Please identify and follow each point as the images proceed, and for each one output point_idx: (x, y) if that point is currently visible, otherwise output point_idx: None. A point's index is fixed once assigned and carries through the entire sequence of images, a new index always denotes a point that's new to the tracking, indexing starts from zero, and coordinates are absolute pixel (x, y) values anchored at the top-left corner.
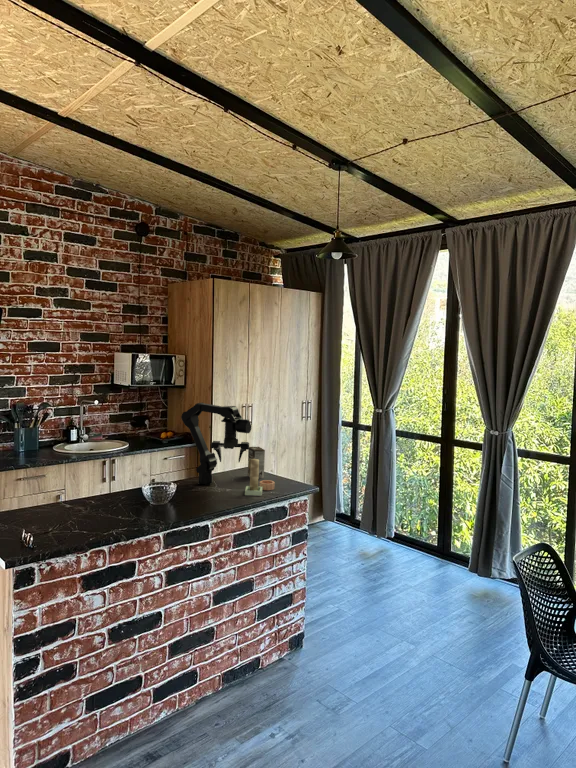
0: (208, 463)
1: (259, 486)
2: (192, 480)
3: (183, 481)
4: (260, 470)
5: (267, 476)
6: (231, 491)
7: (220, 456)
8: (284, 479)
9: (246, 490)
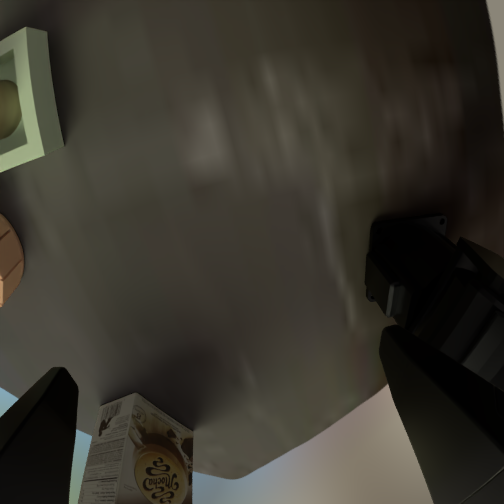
0: (499, 298)
1: (4, 236)
2: None
3: None
4: (102, 439)
5: None
6: (169, 102)
7: (448, 395)
8: None
9: (17, 39)
